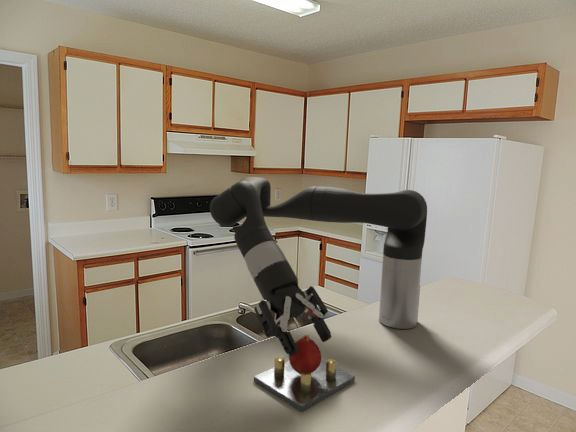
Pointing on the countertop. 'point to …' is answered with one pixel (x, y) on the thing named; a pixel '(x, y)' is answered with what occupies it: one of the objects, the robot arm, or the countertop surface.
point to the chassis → (303, 382)
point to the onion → (306, 356)
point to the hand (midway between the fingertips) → (311, 346)
